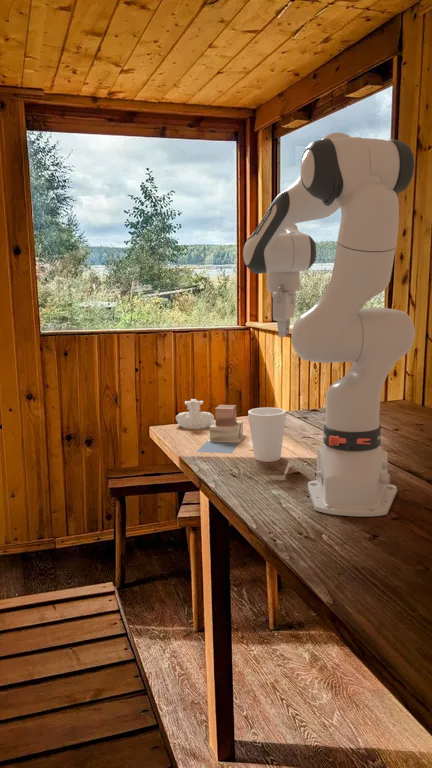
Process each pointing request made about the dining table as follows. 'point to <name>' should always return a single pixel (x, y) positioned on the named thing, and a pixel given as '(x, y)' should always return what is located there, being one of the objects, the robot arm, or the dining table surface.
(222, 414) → the terracotta block
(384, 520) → the dining table surface
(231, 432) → the birch slab
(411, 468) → the dining table surface
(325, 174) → the robot arm
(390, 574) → the dining table surface
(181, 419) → the white figurine
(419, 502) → the dining table surface
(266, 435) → the foam cup
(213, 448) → the board
